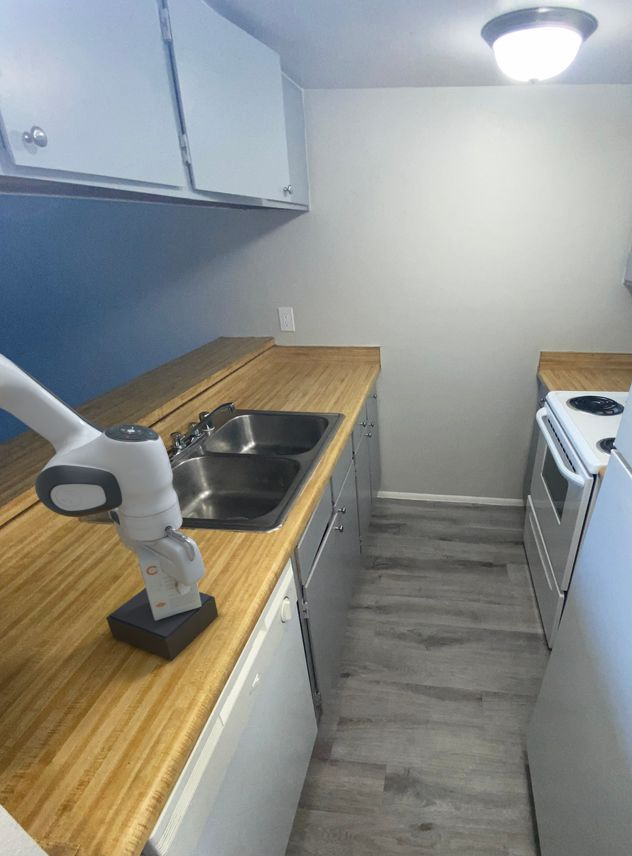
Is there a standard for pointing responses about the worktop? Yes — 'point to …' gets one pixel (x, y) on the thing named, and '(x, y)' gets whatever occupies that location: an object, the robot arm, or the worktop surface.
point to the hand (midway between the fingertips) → (168, 582)
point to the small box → (164, 588)
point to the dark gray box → (160, 625)
